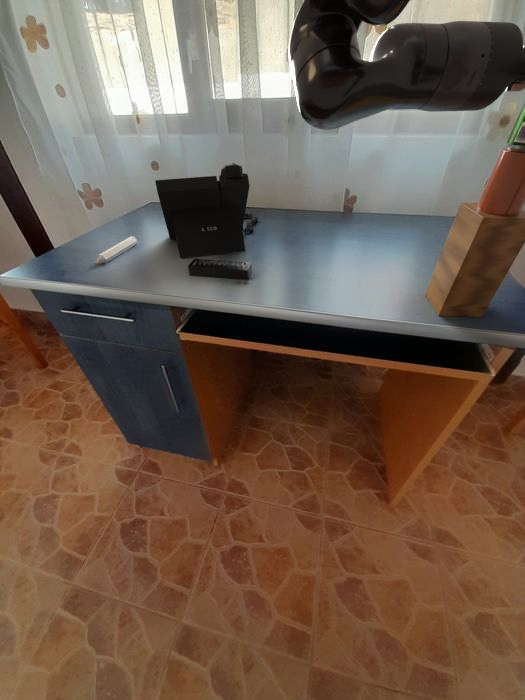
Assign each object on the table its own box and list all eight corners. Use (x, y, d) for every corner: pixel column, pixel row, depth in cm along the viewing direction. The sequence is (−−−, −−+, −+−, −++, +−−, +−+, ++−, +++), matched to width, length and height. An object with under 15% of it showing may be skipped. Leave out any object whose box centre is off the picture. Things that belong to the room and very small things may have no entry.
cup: (506, 204, 50) (535, 147, 44) (528, 216, 45) (562, 153, 40) (469, 204, 50) (493, 147, 45) (487, 215, 46) (515, 153, 40)
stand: (463, 295, 62) (509, 203, 50) (481, 317, 56) (539, 218, 44) (424, 294, 63) (460, 202, 51) (438, 315, 57) (483, 217, 45)
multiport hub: (248, 279, 68) (247, 270, 67) (188, 275, 70) (187, 266, 69) (252, 271, 71) (251, 262, 70) (195, 267, 73) (193, 258, 72)
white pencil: (96, 270, 74) (134, 245, 86) (100, 267, 73) (138, 242, 85) (88, 261, 73) (128, 237, 84) (92, 258, 72) (132, 234, 83)
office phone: (255, 216, 103) (253, 146, 90) (279, 247, 82) (282, 162, 69) (168, 224, 97) (153, 151, 84) (172, 259, 77) (152, 170, 64)
